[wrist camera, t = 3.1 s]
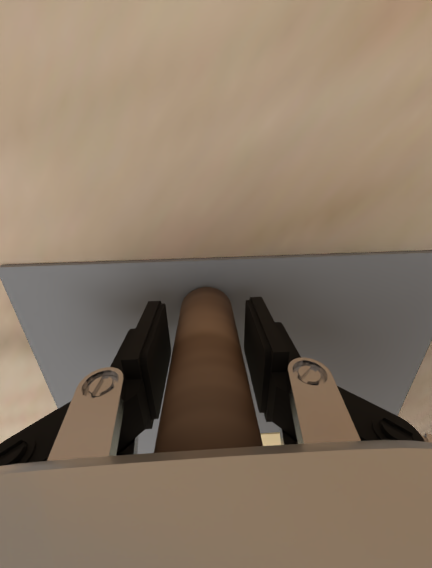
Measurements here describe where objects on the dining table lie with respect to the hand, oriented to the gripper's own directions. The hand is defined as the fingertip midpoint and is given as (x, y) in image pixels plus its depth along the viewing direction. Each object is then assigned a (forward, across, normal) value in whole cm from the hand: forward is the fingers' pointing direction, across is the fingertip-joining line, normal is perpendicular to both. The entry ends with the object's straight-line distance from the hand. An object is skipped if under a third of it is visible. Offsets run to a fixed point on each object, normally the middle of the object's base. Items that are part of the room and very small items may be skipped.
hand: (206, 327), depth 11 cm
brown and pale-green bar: (+2, 0, +5) cm, 5 cm away
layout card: (+2, -2, +13) cm, 13 cm away
